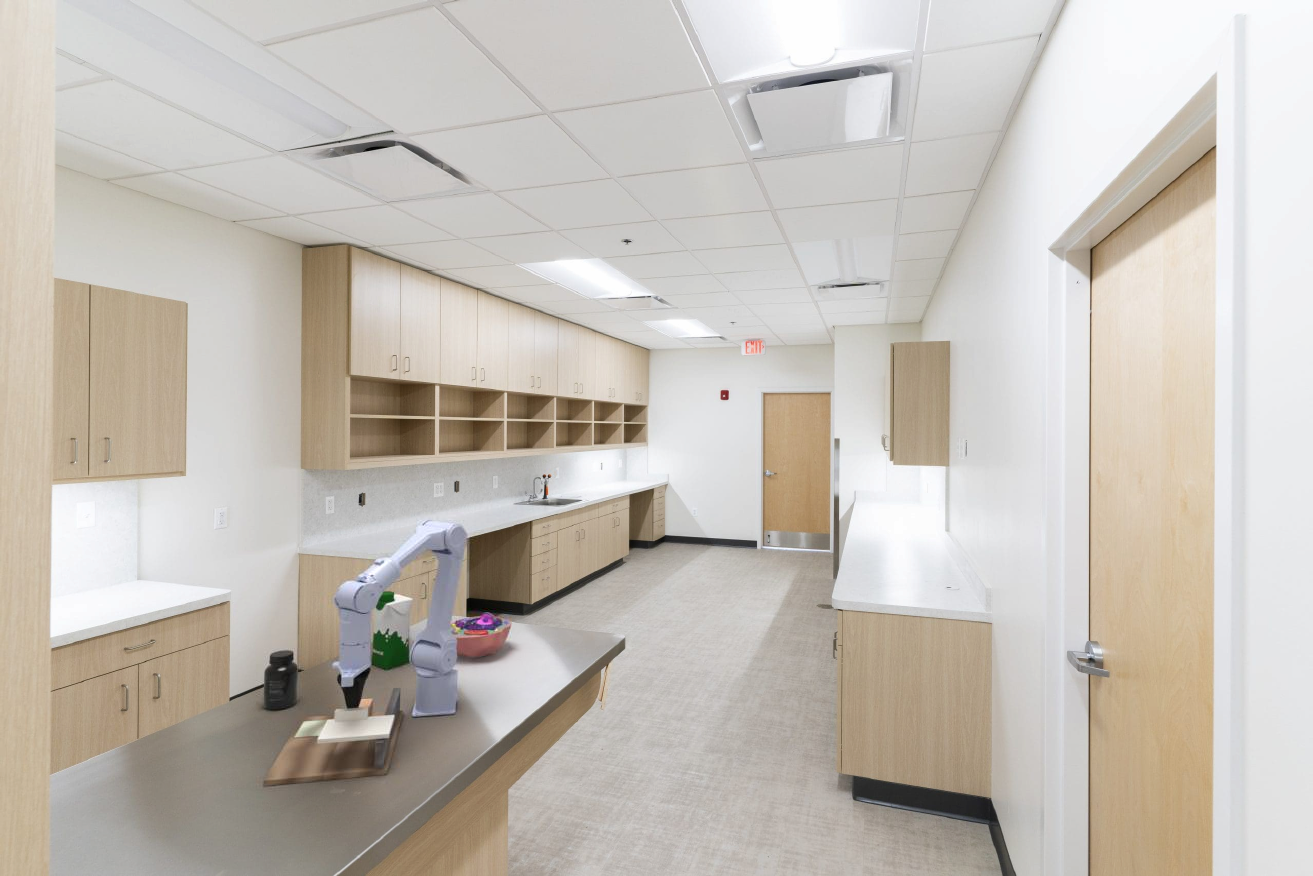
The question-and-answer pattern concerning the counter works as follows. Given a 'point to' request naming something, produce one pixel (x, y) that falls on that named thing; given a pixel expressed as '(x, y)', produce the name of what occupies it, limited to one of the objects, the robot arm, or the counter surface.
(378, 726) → the cover
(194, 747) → the counter surface
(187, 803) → the counter surface
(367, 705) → the block
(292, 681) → the supplement bottle
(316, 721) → the board
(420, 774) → the counter surface
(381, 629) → the milk carton
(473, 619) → the cell model
